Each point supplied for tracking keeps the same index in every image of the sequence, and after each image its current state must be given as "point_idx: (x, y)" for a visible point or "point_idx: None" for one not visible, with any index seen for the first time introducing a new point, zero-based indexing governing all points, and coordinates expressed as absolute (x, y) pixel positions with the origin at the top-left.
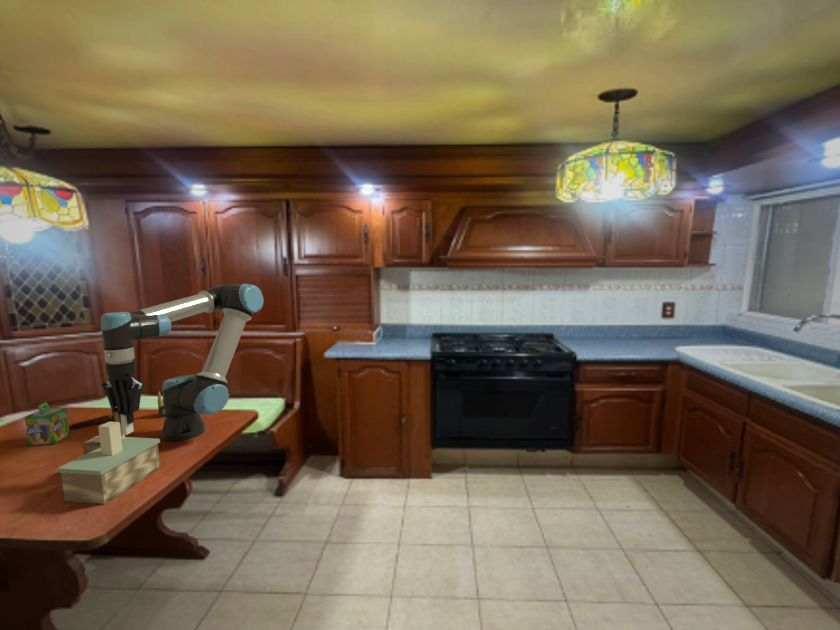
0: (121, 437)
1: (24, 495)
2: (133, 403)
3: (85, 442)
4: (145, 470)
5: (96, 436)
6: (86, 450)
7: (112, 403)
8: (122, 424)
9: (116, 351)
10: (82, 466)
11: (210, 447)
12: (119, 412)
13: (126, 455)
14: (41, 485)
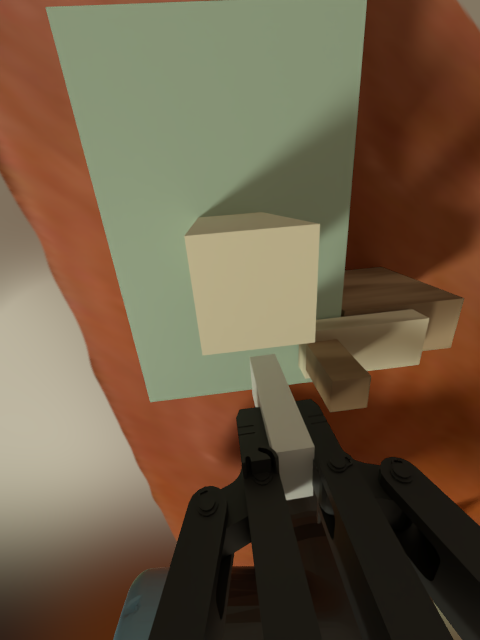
0: (303, 357)
1: (465, 98)
2: (158, 632)
3: (454, 304)
4: None
5: (423, 330)
6: (423, 289)
7: (468, 561)
8: (281, 391)
9: None
10: (232, 53)
11: (144, 451)
12: (331, 466)
13: (120, 233)
14: (459, 169)
